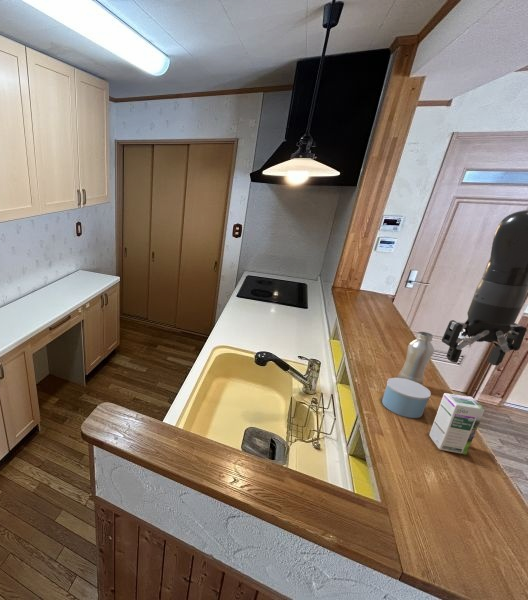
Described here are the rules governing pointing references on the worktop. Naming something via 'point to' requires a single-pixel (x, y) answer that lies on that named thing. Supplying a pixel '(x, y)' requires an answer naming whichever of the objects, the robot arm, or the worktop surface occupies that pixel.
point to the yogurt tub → (405, 397)
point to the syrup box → (456, 423)
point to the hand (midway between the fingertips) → (472, 362)
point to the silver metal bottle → (417, 358)
